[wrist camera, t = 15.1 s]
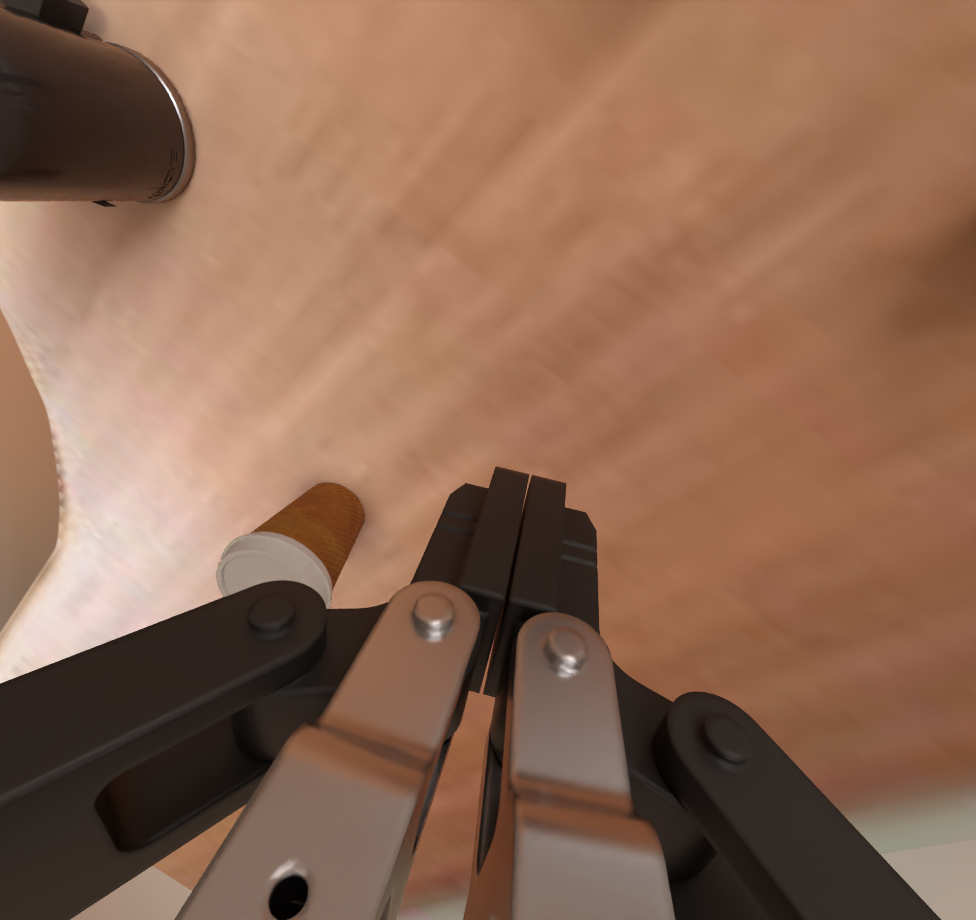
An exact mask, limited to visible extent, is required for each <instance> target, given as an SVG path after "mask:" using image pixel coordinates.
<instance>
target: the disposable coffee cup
mask: <svg viewBox="0 0 976 920" xmlns="http://www.w3.org/2000/svg"><path fill="white" fill-rule="evenodd" d="M364 519H365V513H364V509H363V506H362V504H361V502H360V501H359V499H358V498H357V497H356V496H355V495H354V494H353V493H352V492H351V491H350V490H348V489H346V488H345V487H343V486H340V485H338V484H334V483H321V484H317V485H315V486H314V487H312V488H311V489H310V490H308V491H307V492H306V493H304V494H303V495H302V496H300V497H299V498H298V499H296V500H295V501H293V502H292V503H291V504H289V505H288V506H287V507H285V508H284V509H283V510H281V511H280V512H278V513H277V514H276V515H274V516H273V517H272V518H270V519H269V520H268V521H266V522H265V523H264V524H262V525H261V526H259V527H258V528H257V529H255V530H254V531H253V532H251V533H250V534H246V535H243V536H241V537H239V538H236V539H234V540H233V541H232V542H231V543H229V545H228V546H227V547H226V548H225V549H224V552H223V554H222V558H221V562H220V563H219V565H218V568H217V575H216V577H217V583H218V586H219V589H220V591H221V593H222V595H223V597H226V596H228V595H231V594H234V593H236V592H239V591H241V590H244V589H246V588H249V587H252V586H254V585H257V584H261V583H264V582H269V581H278V580H287V581H295V582H299V583H303V584H305V585H307V586H309V587H311V588H313V589H314V590H316V591H317V592H318V593H319V594H320V595H321V597H322V598H323V600H324V602H325V605H326V609H329V606H330V603H331V600H332V590H333V588H334V586H335V584H336V581H337V579H338V577H339V575H340V573H341V570H342V568H343V566H344V564H345V562H346V560H347V558H348V555H349V553H350V551H351V549H352V547H353V545H354V542H355V541H356V538H357V536H358V534H359V532H360V529H361V527H362V525H363V523H364Z"/></svg>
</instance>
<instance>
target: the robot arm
mask: <svg viewBox="0 0 976 920" xmlns="http://www.w3.org/2000/svg"><path fill="white" fill-rule="evenodd" d="M88 10H89V8H88V7H87V6H86V5H85V4H84V3H83V2H82V1H81V0H0V201H91V202H94V203H96V204H99V205H102V206H104V207H116V205H113V204H111V203H108V202H105V201H136V202H141V203H160V202H165V201H168V200H171V199H173V198H174V197H176V196H177V195H179V194H180V193H181V192H182V191H183V189H184V188H185V187H186V185H187V183H188V181H189V179H190V177H191V174H192V170H193V166H194V158H195V147H194V137H193V132H192V127H191V123H190V120H189V117H188V114H187V111H186V109H185V107H184V104H183V102H182V100H181V98H180V96H179V95H178V93H177V91H176V89H175V88H174V86H173V85H172V84H171V82H170V81H169V80H168V78H167V77H166V76H165V75H164V73H163V72H162V71H161V70H160V69H159V68H158V67H157V66H156V65H155V64H154V63H152V62H151V61H150V60H149V59H147V58H146V57H144V56H143V55H141V54H140V53H138V52H136V51H134V50H131V49H129V48H126V47H123V46H120V45H117V44H113V43H108V42H103V41H102V40H101V39H100V38H99V37H98V36H97V35H95V34H92V33H89V32H86V31H83V30H82V28H83V25H84V22H85V19H86V16H87V13H88ZM528 478H529V474H526V473H522V472H517V471H513V470H509V469H505V468H501V467H497V466H496V467H495V470H494V473H493V476H492V480H491V483H490V486H489V489H488V488H483V487H479V486H475V485H471V484H467V483H465V484H464V485H463V486H461V487H460V488H458V489H457V490H456V491H454V492H453V493H451V494H450V496H449V498H448V500H447V502H446V505H445V507H444V509H443V512H442V514H441V516H440V518H439V521H438V523H437V526H436V528H435V530H434V532H433V534H432V536H431V539H430V541H429V543H428V545H427V548H426V550H425V552H424V554H423V557H422V559H421V561H420V563H419V566H418V568H417V570H416V573H415V575H414V577H413V579H412V581H411V583H410V585H408V586H405V587H403V588H402V589H400V590H399V591H398V592H397V593H395V594H394V595H393V596H392V598H391V599H390V601H389V602H387V603H385V604H381V605H378V606H374V607H369V608H359V609H326V605H325V602H324V600H323V598H322V597H321V595H320V594H319V593H318V592H317V591H316V590H314V589H313V588H311V587H309V586H307V585H305V584H303V583H299V582H295V581H287V580H278V581H269V582H264V583H261V584H257V585H254V586H252V587H249V588H246V589H244V590H241V591H239V592H236V593H234V594H231V595H228V596H226V597H223V598H221V599H218V600H215V601H213V602H210V603H208V604H205V605H202V606H200V607H197V608H195V609H192V610H190V611H187V612H184V613H182V614H179V615H177V616H174V617H171V618H169V619H166V620H164V621H161V622H158V623H156V624H153V625H151V626H148V627H146V628H143V629H140V630H138V631H135V632H133V633H130V634H127V635H125V636H122V637H120V638H117V639H114V640H112V641H109V642H107V643H104V644H102V645H99V646H96V647H94V648H91V649H89V650H86V651H83V652H81V653H78V654H76V655H73V656H70V657H68V658H65V659H63V660H60V661H58V662H55V663H52V664H50V665H47V666H45V667H42V668H39V669H37V670H34V671H32V672H29V673H26V674H24V675H21V676H19V677H16V678H14V679H11V680H8V681H6V682H3V683H1V684H0V920H70V919H71V918H73V917H74V916H76V915H78V914H79V913H80V912H82V911H84V910H85V909H86V908H88V907H90V906H91V905H93V904H94V903H96V902H97V901H99V900H100V899H102V898H103V897H105V896H107V895H108V894H110V893H111V892H113V891H114V890H116V889H117V888H119V887H120V886H122V885H123V884H125V883H126V882H128V881H129V880H131V879H132V878H134V877H136V876H137V875H139V874H140V873H142V872H143V871H145V870H146V869H148V868H149V867H151V866H152V865H154V864H155V863H157V862H158V861H160V860H162V859H163V858H165V857H166V856H168V855H169V854H171V853H172V852H174V851H175V850H177V849H178V848H180V847H181V846H183V845H184V844H186V843H187V842H189V841H191V840H192V839H194V838H195V837H197V836H198V835H200V834H201V833H203V832H204V831H206V830H207V829H209V828H210V827H212V826H213V825H215V824H216V823H218V822H220V821H221V820H223V819H224V818H226V817H227V816H229V815H230V814H232V813H233V812H235V811H236V810H238V809H239V808H241V807H242V806H244V805H245V804H247V805H246V806H245V808H244V809H243V811H242V813H241V814H240V816H239V817H238V819H237V821H236V822H235V824H234V825H233V827H232V829H231V830H230V832H229V833H228V835H227V837H226V838H225V840H224V841H223V843H222V845H221V846H220V848H219V849H218V851H217V853H216V854H215V856H214V857H213V859H212V860H211V862H210V864H209V865H208V867H207V868H206V870H205V872H204V873H203V875H202V876H201V878H200V880H199V881H198V883H197V884H196V886H195V888H194V889H193V891H192V893H191V894H190V896H189V897H188V899H187V901H186V902H185V904H184V905H183V907H182V908H181V910H180V912H179V913H178V915H177V916H176V918H175V920H396V918H397V914H398V911H399V908H400V904H401V901H402V898H403V894H404V891H405V887H406V883H407V880H408V876H409V873H410V870H411V867H412V863H413V860H414V857H415V854H416V851H417V848H418V844H419V841H420V838H421V835H422V832H423V829H424V826H425V823H426V820H427V817H428V814H429V810H430V807H431V804H432V801H433V798H434V795H435V792H436V789H437V786H438V783H439V779H440V776H441V773H442V770H443V767H444V764H445V761H446V758H447V755H448V752H449V748H450V745H451V742H452V739H453V736H454V733H455V731H456V730H457V729H458V727H459V725H460V723H461V720H462V716H463V712H464V708H465V704H466V700H467V696H468V692H469V691H473V692H477V693H479V692H480V688H481V685H482V681H483V677H484V674H485V670H486V666H487V662H488V659H489V655H490V651H491V648H492V644H493V648H492V653H491V658H490V662H489V667H488V672H487V677H486V682H485V687H484V692H483V694H485V695H489V696H492V697H496V698H495V704H494V710H493V715H492V721H491V725H490V728H489V731H488V735H487V738H486V742H485V748H484V757H483V767H482V776H481V785H480V795H479V804H478V814H477V823H476V832H475V842H474V851H473V861H472V870H471V878H470V886H469V892H468V898H467V903H466V908H465V913H464V918H463V920H941V919H940V918H939V917H938V916H937V915H936V914H935V913H934V912H933V911H932V909H931V908H930V907H929V906H928V905H927V904H926V903H925V902H924V901H923V900H922V899H921V898H920V897H919V896H918V895H917V894H916V892H915V891H914V890H913V889H912V888H911V887H910V886H909V885H908V884H907V883H906V882H905V881H904V880H903V879H902V877H900V875H899V874H898V873H897V872H896V871H895V870H894V869H893V868H892V867H891V866H890V865H889V864H888V863H887V862H886V860H885V859H883V857H882V856H881V855H880V854H879V853H878V852H877V851H876V850H875V849H874V848H873V846H872V845H871V844H870V843H869V842H868V841H867V840H866V839H865V838H864V837H863V836H862V835H861V834H860V833H859V832H858V830H857V829H856V828H855V827H854V826H853V825H852V824H851V823H850V822H849V821H848V820H847V819H846V818H845V817H844V816H843V814H842V813H841V812H840V811H839V810H838V809H837V808H836V807H835V806H834V805H833V804H832V803H831V802H830V801H829V800H828V798H827V797H826V796H825V795H824V794H823V793H822V792H821V791H820V790H819V789H818V788H817V787H816V786H815V785H814V783H813V782H812V781H811V780H810V779H809V778H808V777H807V776H806V775H805V774H804V773H803V772H802V771H801V770H800V769H799V767H798V766H797V765H796V764H795V763H794V762H793V761H792V760H791V759H790V758H789V757H788V756H787V755H786V754H785V753H784V751H783V750H782V749H781V748H780V747H779V746H778V745H777V744H776V743H775V742H774V741H773V740H772V739H771V738H770V737H769V735H768V734H767V733H766V732H765V731H764V730H763V729H762V728H761V727H760V726H759V725H758V724H757V723H756V722H755V721H754V720H753V719H752V718H751V717H750V716H749V715H748V714H747V713H746V712H744V711H743V710H742V709H741V708H739V707H738V706H736V705H735V704H733V703H732V702H730V701H728V700H726V699H724V698H722V697H720V696H717V695H714V694H711V693H706V692H688V693H686V694H683V695H681V696H679V697H678V698H677V699H676V700H675V701H674V702H672V701H670V700H668V699H666V698H665V697H663V696H661V695H659V694H658V693H656V692H654V691H652V690H651V689H649V688H647V687H645V686H644V685H642V684H640V683H638V682H637V681H635V680H634V679H632V678H631V677H630V676H628V675H627V674H626V673H625V672H623V671H622V670H621V669H620V668H619V667H618V666H617V665H616V664H615V662H614V661H613V660H612V657H611V653H610V651H609V648H608V646H607V644H606V643H605V641H604V640H603V638H602V637H601V636H600V631H599V606H598V572H597V553H596V550H597V537H596V529H595V527H594V526H593V524H592V522H591V521H590V519H589V517H588V515H587V514H586V512H582V511H578V510H574V509H570V508H566V507H565V495H566V483H563V482H559V481H555V480H551V479H547V478H543V477H539V476H535V475H532V477H531V480H530V484H529V488H528V491H527V495H526V499H525V494H526V489H527V484H528ZM524 499H525V503H524ZM523 504H524V507H523ZM522 509H523V511H522ZM494 636H495V638H494ZM493 640H494V643H493Z"/></svg>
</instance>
